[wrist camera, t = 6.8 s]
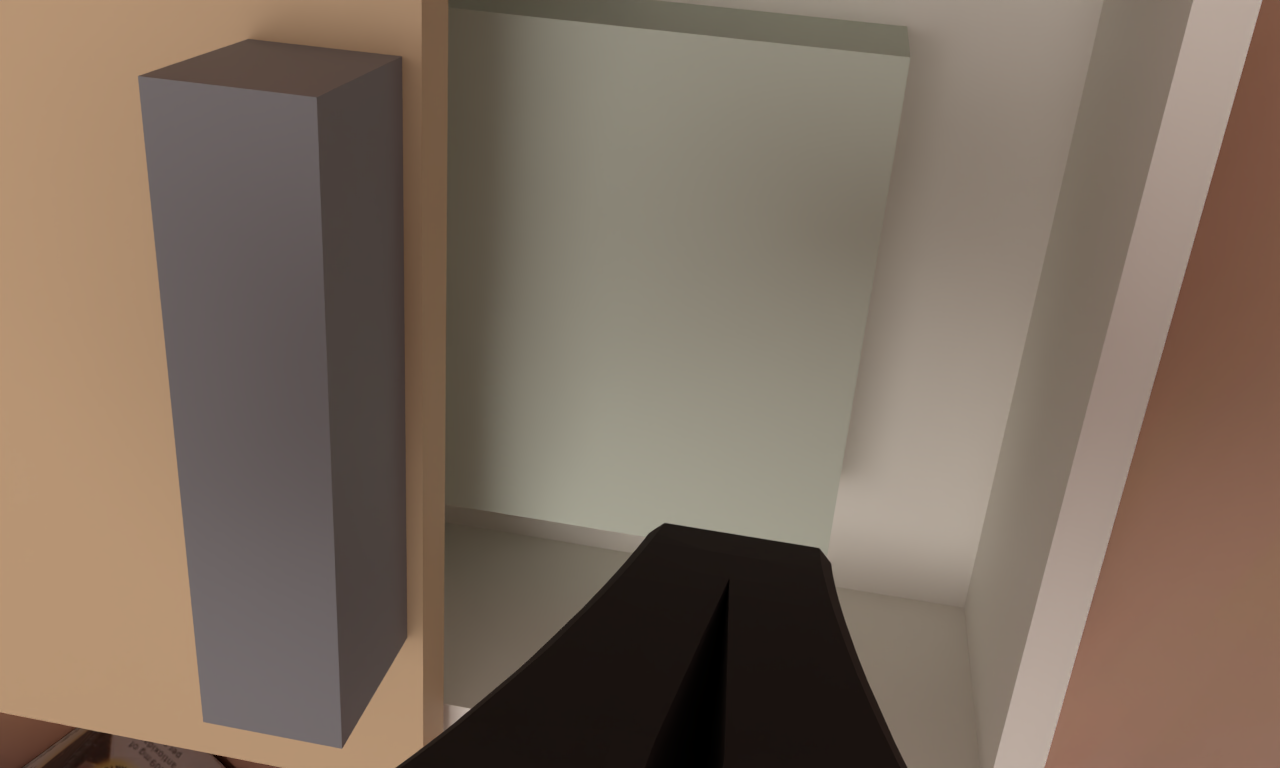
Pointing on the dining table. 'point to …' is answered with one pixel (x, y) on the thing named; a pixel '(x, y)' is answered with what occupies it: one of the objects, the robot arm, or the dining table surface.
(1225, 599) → the dining table surface
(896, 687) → the mailer base
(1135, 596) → the dining table surface
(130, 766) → the coffee box
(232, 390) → the mailer lid
